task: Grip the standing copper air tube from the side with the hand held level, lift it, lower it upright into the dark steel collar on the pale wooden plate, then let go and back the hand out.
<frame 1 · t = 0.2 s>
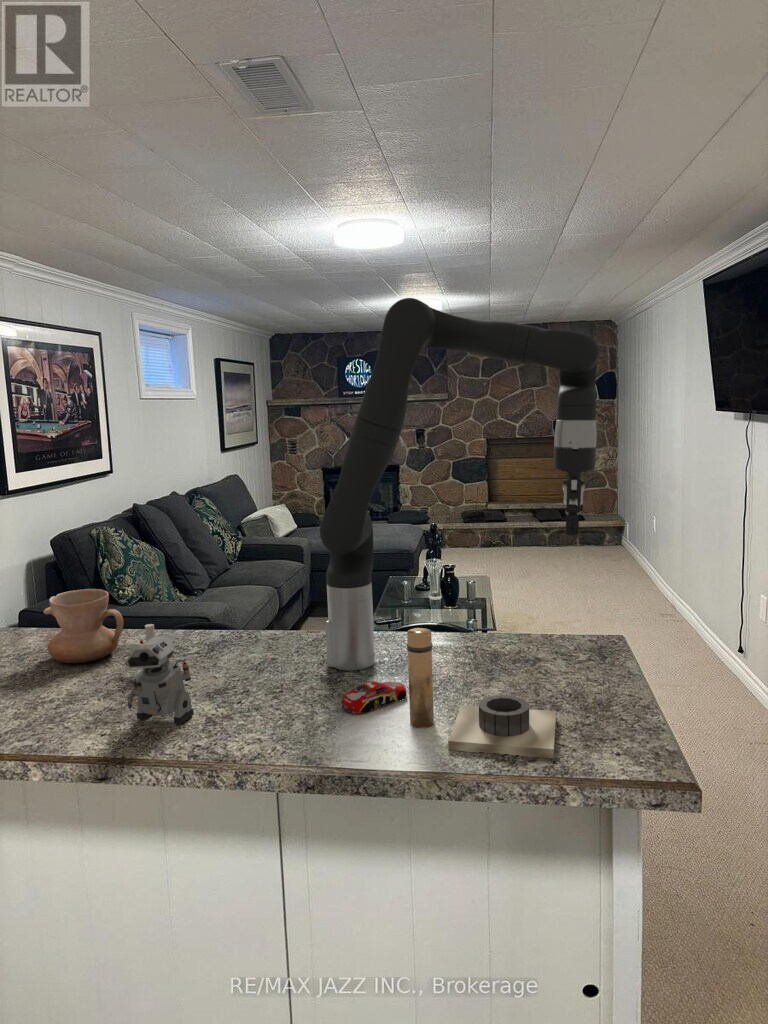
hand: (571, 531, 142), 28 cm above the worktop, tool pointing down, fingers open, 8 cm apart
collar plate: (504, 734, 122), on the worktop
ceramic jug: (87, 658, 168), on the worktop
pipe connector: (153, 672, 157), on the worktop
figurine: (159, 724, 131), on the worktop
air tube: (422, 722, 128), on the worktop
race car: (375, 705, 137), on the worktop
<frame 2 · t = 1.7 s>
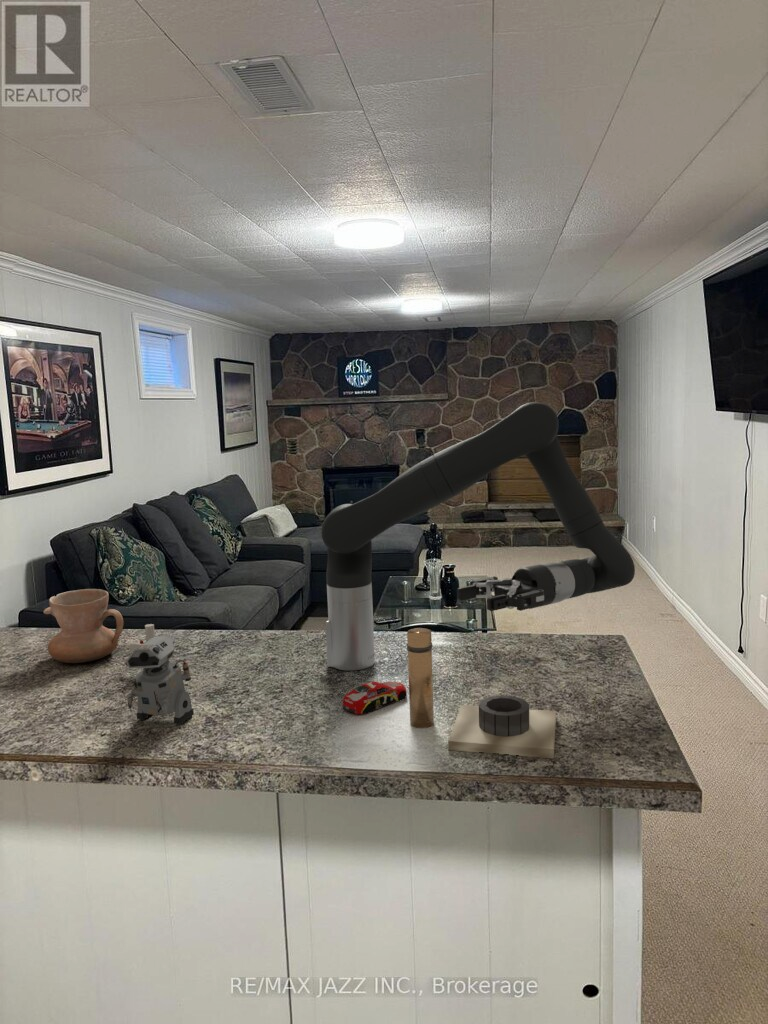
hand: (472, 599, 130), 20 cm above the worktop, tool horizontal, fingers open, 8 cm apart
nothing on the worktop moved.
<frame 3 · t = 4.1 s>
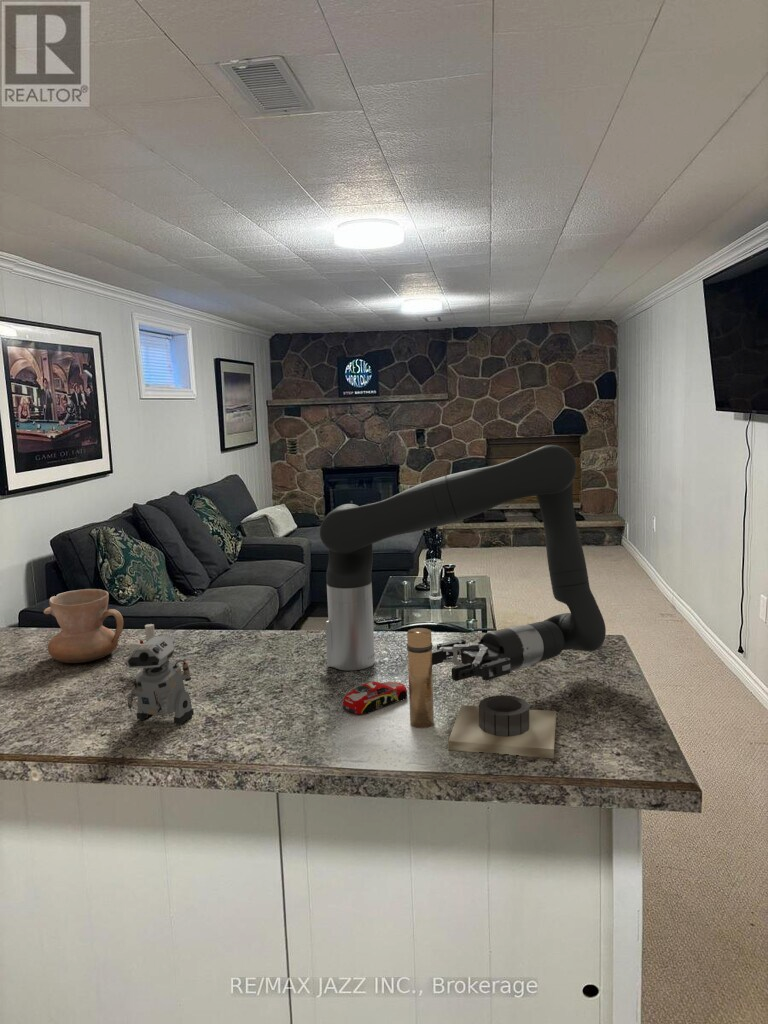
hand: (438, 667, 128), 9 cm above the worktop, tool horizontal, fingers open, 8 cm apart
nothing on the worktop moved.
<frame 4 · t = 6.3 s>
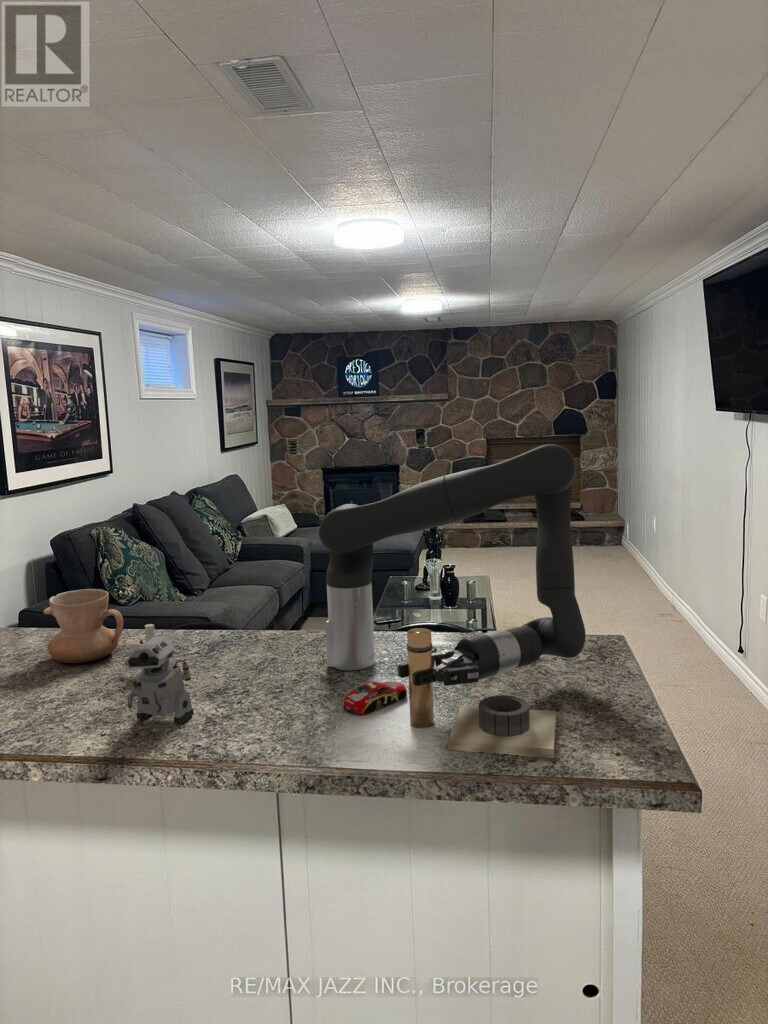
hand: (406, 675, 125), 9 cm above the worktop, tool horizontal, fingers closed on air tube, 4 cm apart
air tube: (422, 722, 128), on the worktop, touching gripper
everything else where it was.
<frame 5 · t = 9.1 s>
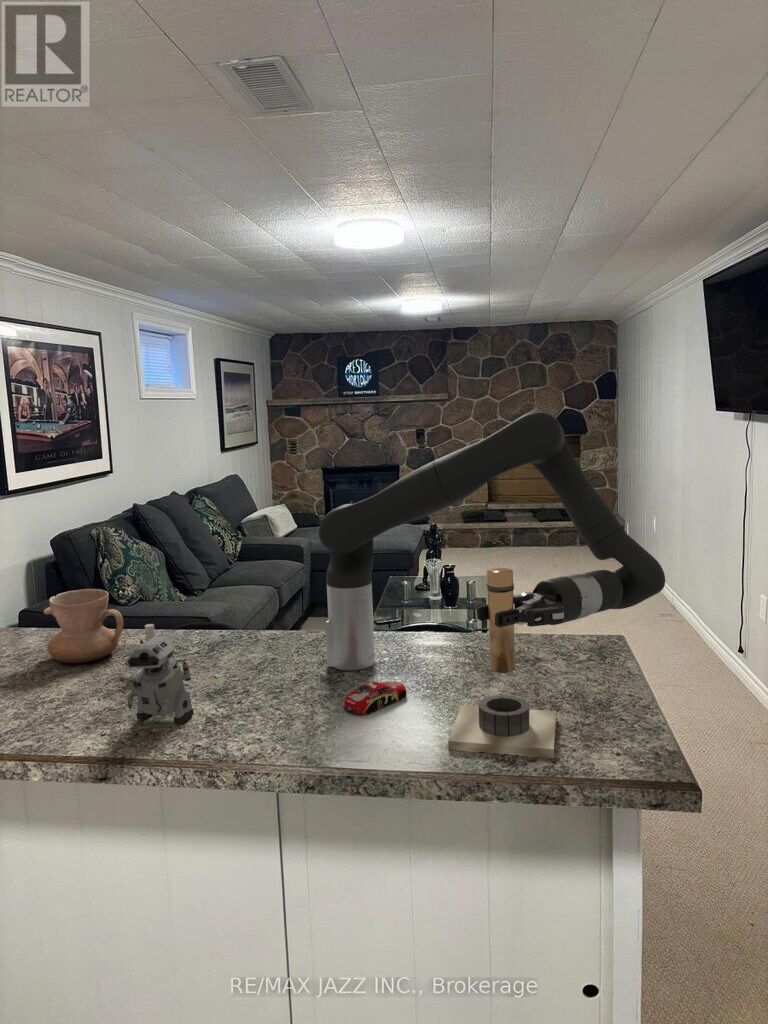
hand: (487, 617, 118), 20 cm above the worktop, tool horizontal, fingers closed on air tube, 4 cm apart
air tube: (502, 668, 121), point 11 cm above the worktop, touching gripper
everything else where it was.
when the fingers open (12 cm above the worktop, at t = 11.9 s): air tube drops 1 cm, resting on collar plate.
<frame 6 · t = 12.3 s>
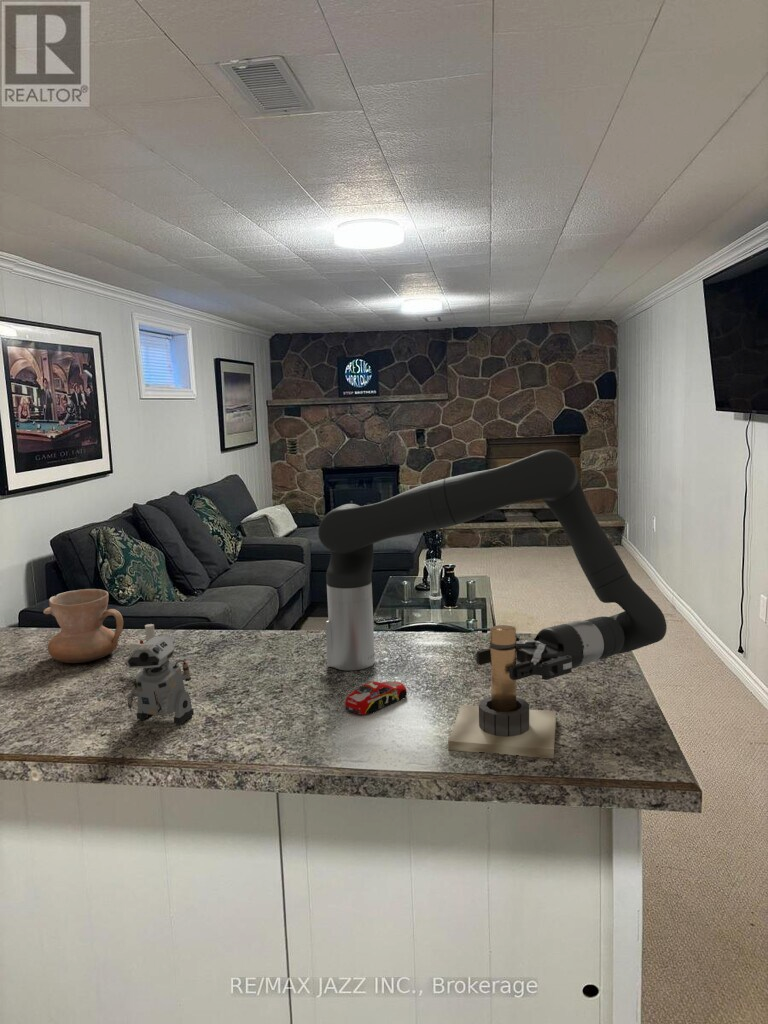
hand: (493, 665, 119), 12 cm above the worktop, tool horizontal, fingers open, 8 cm apart
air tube: (504, 724, 122), point 2 cm above the worktop, touching collar plate
everything else where it was.
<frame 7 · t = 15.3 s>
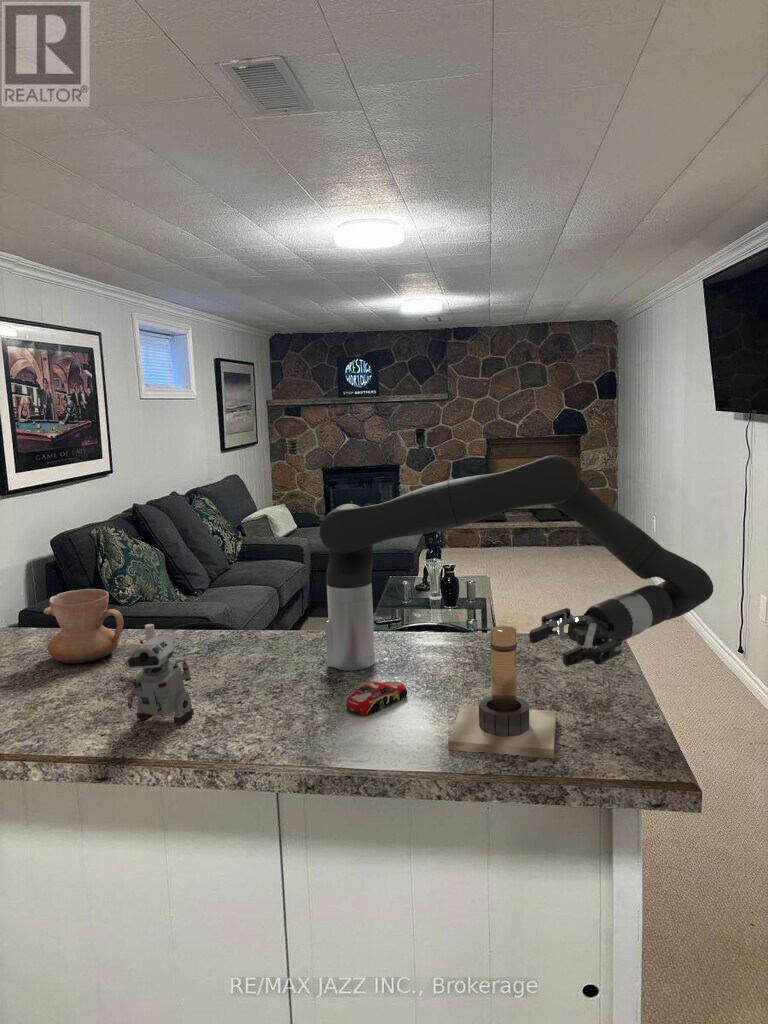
hand: (547, 648, 126), 12 cm above the worktop, tool horizontal, fingers open, 8 cm apart
nothing on the worktop moved.
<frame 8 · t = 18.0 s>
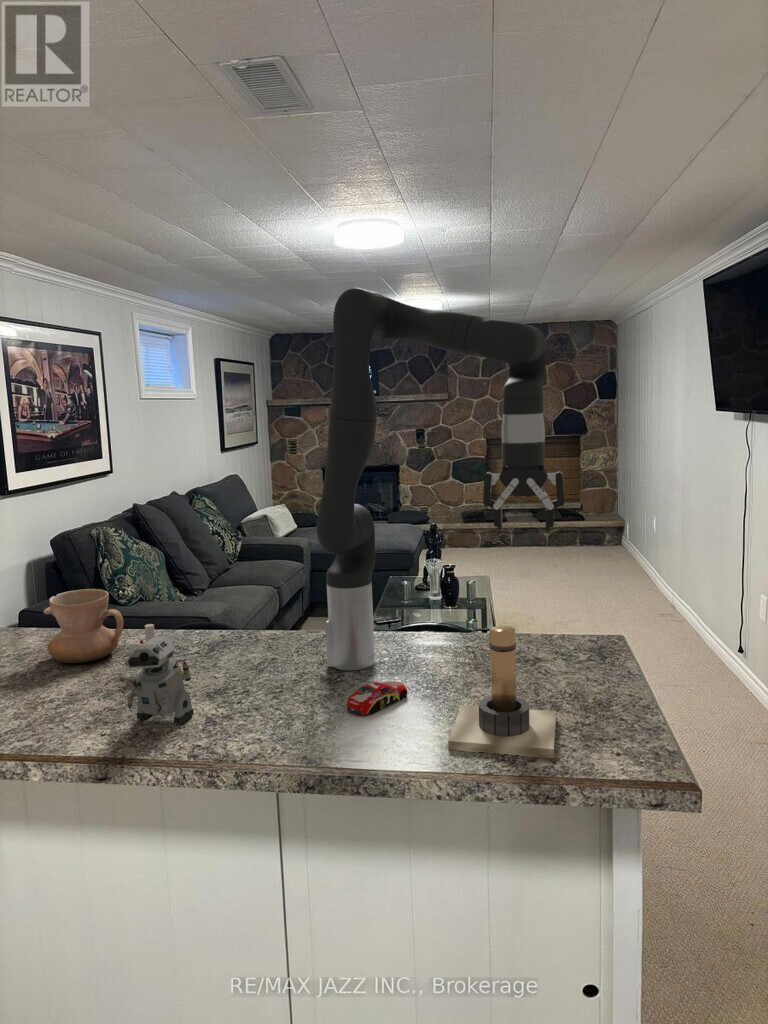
hand: (523, 529, 136), 30 cm above the worktop, tool pointing down, fingers open, 8 cm apart
nothing on the worktop moved.
at the end: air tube 0.1 cm off-centre on the collar plate, point 1.5 cm above the collar plate's base; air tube tilted 0°; the gripper is holding nothing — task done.
